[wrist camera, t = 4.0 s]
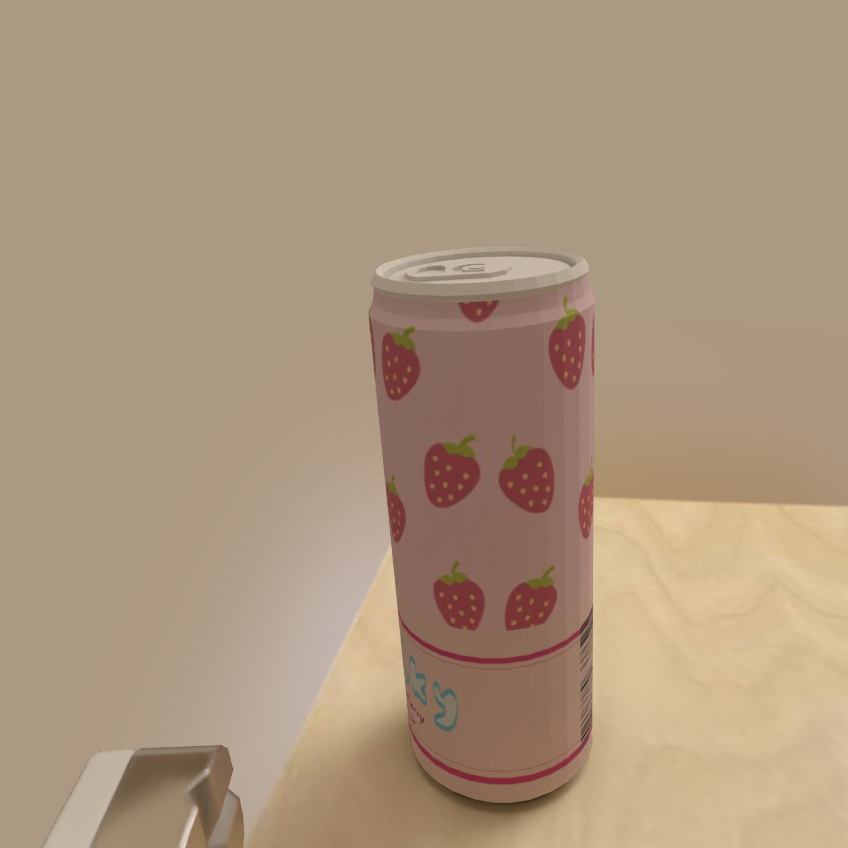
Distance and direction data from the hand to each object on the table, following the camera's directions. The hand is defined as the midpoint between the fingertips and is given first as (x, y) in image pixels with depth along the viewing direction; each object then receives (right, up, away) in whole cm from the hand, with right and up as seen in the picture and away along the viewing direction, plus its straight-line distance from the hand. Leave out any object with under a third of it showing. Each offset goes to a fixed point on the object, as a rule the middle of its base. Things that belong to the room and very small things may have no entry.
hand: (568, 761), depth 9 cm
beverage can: (+1, -6, +15) cm, 16 cm away
